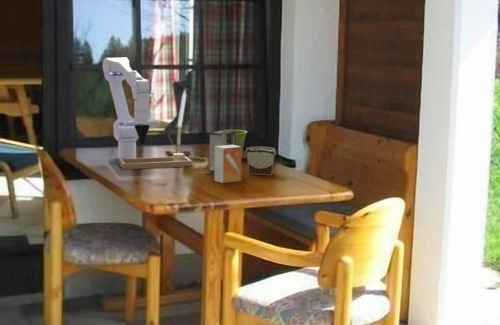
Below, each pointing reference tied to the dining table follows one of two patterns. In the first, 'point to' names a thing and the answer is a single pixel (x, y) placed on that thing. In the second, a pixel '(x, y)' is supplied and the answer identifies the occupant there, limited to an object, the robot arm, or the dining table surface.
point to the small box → (228, 163)
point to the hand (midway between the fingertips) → (142, 144)
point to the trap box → (153, 162)
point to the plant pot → (239, 138)
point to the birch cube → (178, 157)
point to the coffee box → (219, 143)
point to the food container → (260, 160)
